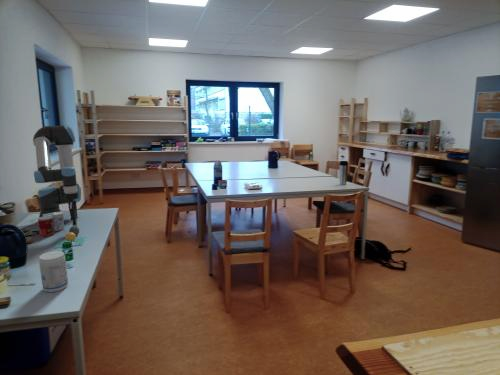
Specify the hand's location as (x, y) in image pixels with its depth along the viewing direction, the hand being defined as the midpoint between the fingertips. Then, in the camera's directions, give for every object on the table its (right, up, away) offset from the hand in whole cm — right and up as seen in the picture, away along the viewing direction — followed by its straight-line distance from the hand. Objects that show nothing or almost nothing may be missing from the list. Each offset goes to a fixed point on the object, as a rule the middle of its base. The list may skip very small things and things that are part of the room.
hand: (75, 229), depth 222 cm
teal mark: (+6, -6, -17) cm, 19 cm away
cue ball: (+2, 0, -5) cm, 6 cm away
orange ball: (+5, -3, -16) cm, 17 cm away
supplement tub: (+26, -17, -71) cm, 77 cm away
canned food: (-16, -3, -3) cm, 16 cm away
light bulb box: (-16, -1, +6) cm, 17 cm away
